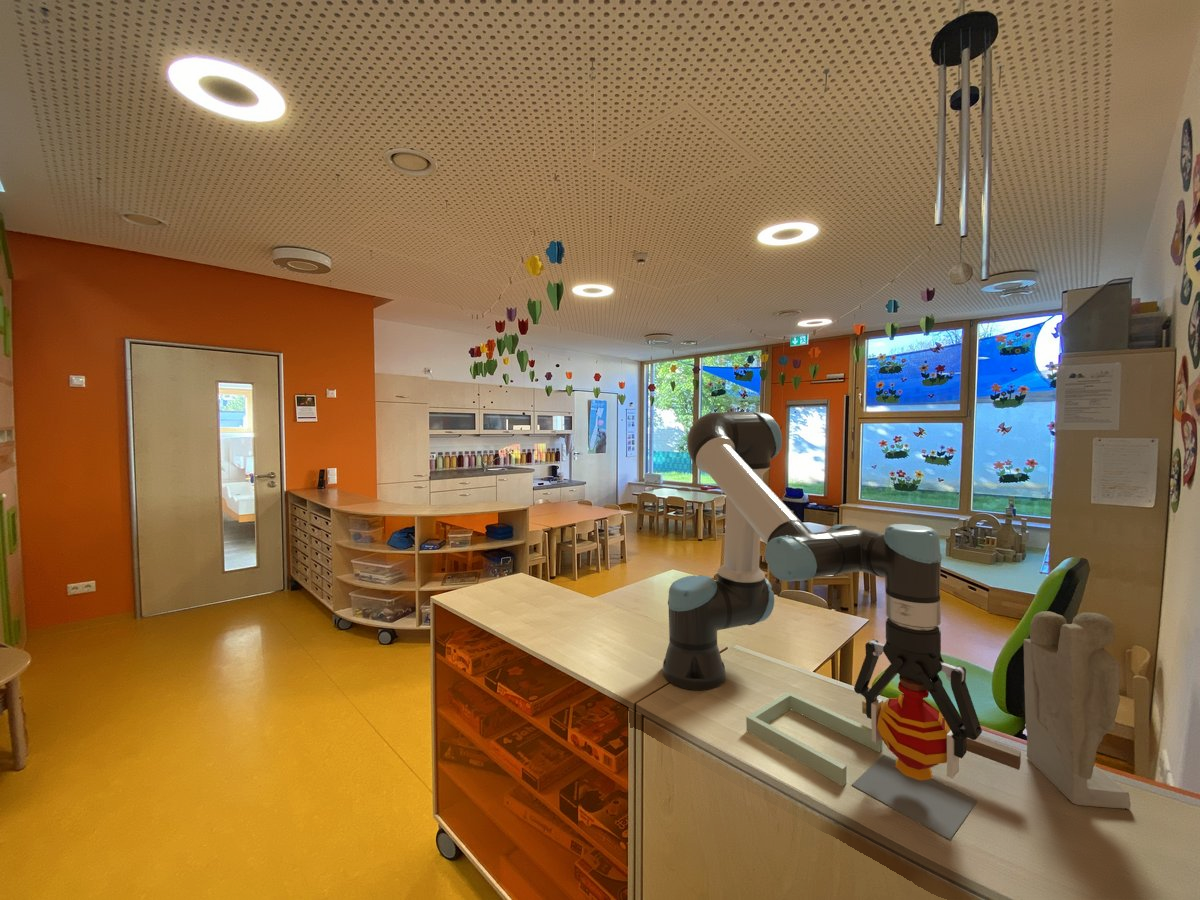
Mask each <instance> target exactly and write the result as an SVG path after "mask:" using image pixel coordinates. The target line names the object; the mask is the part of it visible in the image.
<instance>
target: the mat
mask: <svg viewBox="0 0 1200 900" xmlns="http://www.w3.org/2000/svg"><path fill="white" fill-rule="evenodd" d="M896 760H897V759H894V758H892V757H890V756H888V755H886V754H882V755H881V756H880V757H879V758H878V759H877V760H876V761H875V762H874V763H873V764H872V765H870V767H869V768H867V769H866V771H864V772H863V773H862V775H860V776H859V777H858V778H857V779H855V781H854V782H853V783H852V784H851V786H852V787H854V788H855V789H857V790H860V791H861V792H863V793H865V794H866V795H868V796H869V797H870V796H871V797H872V798H873V799H875V800H878V801H879V802H881V803H883V804H884V805H886V806H888V807H890V808H891V809H893V810H895V811H897V812H898V813H901V814H903V815H904V816H906V817H908V818H909V819H911V820H913V821H915V822H916V823H918V824H920V825H922V826H923V827H925V828H927V829H929V830H931V831H933V832H934V833H936V834H938V835H940V836H942V837H944V838H945V839H947V840H949V841H951V840H952V838H953V837H954V836H955V834H956V833H957V831H958V830H959V828H960V827H961V826H962V824H963V822H964V821H965V819H966V818H967V817H968V815H969V814H970V813H971V810H972V809H973V808H974V806H976V804H977V802H978V799H976V798H974V797H972V796H970V795H968V794H966V793H964V792H962V791H960V790H958V789H956V788H954V787H952V786H950V785H948V784H946V783H944V782H942V781H939V780H937V779H935V778H933V777H932V779H926V780H918V779H915V778H912V777H909V776H906V775H904V774H903V773H902V772H901V771H900V770H899V769H897V768H896V767H895V766H896Z"/></svg>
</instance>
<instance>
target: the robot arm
mask: <svg viewBox="0 0 1200 900" xmlns="http://www.w3.org/2000/svg"><path fill="white" fill-rule="evenodd" d="M686 441H687V442H686V447H687V451H688V454H689V456H690V459H691V460H692V463H694V465H695V466H696V467H697V469H698V470H699V471H700V472H701V473H703V474H704V473H705V474H708V475H709V476H710V477H711V479H712V480H713V481H714V482H715V484H716V485H717V486H718V487H719V488H720V490H721V491H722V492H723V493H724V495H725V523H724V524H725V525H724V526H725V528H724V546H723V547H724V549H723V550H724V552H723V564H721V566H719V567H718V568H717V573H716V576H717V579H716V580H715V579H714V578H713V577H710V576H708V575H702V574H701V575H697V576H696V575H688V576H684V577H681V578H679V579H676V580H675V581H673V582H672V583H671V585H670V586H669V588H668V599H667V605H668V631H669V633H668V635H669V640H668V641H669V642H668V646H667V648H666V653H665V658H664V659H663V663H662V675H663V677H664V679H665V680H666V681H668V683H670V684H671V685H674V686H676V687H678V688H680V689H681V688H682V689H686V690H693V691H705V690H711V689H714V688H717V687H718V686H720V685H722V684H723V683H724V682H725V679H726V666H725V663H724V661H722V660H723V659H722V656H721V651H720V649H719V645H718V631H720V630H726V629H732V628H737V627H742V626H753V625H756V624H758V623H761V622H764V621H765V620H767V619H768V618H770V617H771V615H772V612H773V609H774V607H775V593H774V591H773V590H772V588H773V586H772V584H771V582H770V581H769V580H768V578H767V577H766V574H765V573H764V571H763V570H762V569H761V568H760V553H761V540H762V541H763V542H764V543H765V545H766V546H765V549H764V559H765V562H766V563H767V565H768V567H767V568H768V570H769V572H770V574H772V576H773V577H774V578H776V579H777V580H780V581H782V582H796V581H798V582H800V581H801V582H803V581H804V582H805V581H808V580H810V579H817V578H822V577H823V578H824V577H828V576H838V575H843V574H851V573H856V572H862V573H866V574H869V575H873V576H876V577H880V578H884V588H885V592H884V593H885V616H886V617H887V618H886V619H885V643H881V642H879V641H878V639H875V638H873V639H871V640H870V641H868V642H866V643H865V646H864V647H865V656H864V657H865V658H864V659H863V663H862V665H861V668H860V670H859V674H858V675H857V679H856V681H855V685H854V687H853V689H854V692H855V693H856V694H860V695H861V696H863V697H864V699H866V714H865V715H866V718H868V719H870V720H871V721H870V722H871V723H870V724H871V729H872V741H873V742H875V743H877V742H878V741H879V740H880V739H881V738H882V737H881V734H880V732H879V730H878V728H877V724H878V719H879V714H880V711H881V707H882V704H883V703H884V699H882V698H879V696H880V694H882V692H883V691H884V690H885V689H886V688H887V686H888V685H889V684H890V683H891V682H892V681H893V679H894V678H895V677H896V676H897V675H900V676H901V677H904V678H910V679H912V680H914V681H915V682H918V683H923V685H924V687H925V689H926V690H927V691H929V695H930V696H931V697H932V700H933V701H934V703H935V704H936V706H937V708H938V711H940V712H941V714H942V715H943V718H944V719H945V721H946V723H947V724H948V726H949V728H950V730H951V731H950V732H949V733H948V734H947V762H946V776H947V777H948V778H950V779H954V778H955V777H956V775H957V774H958V773H959V771H960V759H963V758H964V756H965V755H966V754H967V752H968V751H967V749H966V748H967V742H966V738H970V739H972V740H976V739H977V738H978V736H980V735H981V734H982V732H983V730H982V727H981V723H980V720H979V718H978V715H977V711H976V709H975V706H974V703H973V700H972V697H971V695H970V694H971V693H970V691H969V689H968V685H967V683H966V679H967V678H966V675H967V670H966V667H964V666H963V665H957V666H955V665H951V664H948V663H946V662H944V660H943V658H942V655H941V653H942V644H941V643H942V638H941V637H942V634H941V632H942V630H941V627H940V625H941V623H942V621H941V620H942V618H941V617H942V614H941V613H942V609H941V608H942V607H941V605H942V604H941V603H942V602H941V569H942V567H941V565H942V559H943V555H942V553H941V545H940V544H941V542H940V541H941V540H940V535H939V532H938V531H937V530H936V529H934V528H933V527H930V526H926V525H920V524H910V523H893V524H888V526H886V528H885V530H884V532H883V531H881V532H880V531H877V530H873V529H867V528H862V527H861V526H857V525H853V524H849V525H847V524H835V525H832V526H831V527H830V528H829V529H828V530H826V531H819V532H818V531H817V532H812V531H811V530H810V529H809V528H808V527H807V526H806V525H805V524H804V523H803V522H802V521H801V520H800V519H799V518H798V516H797V515H796V514H795V513H794V512H793V511H792V510H791V509H790V507H788V506H787V505H786V504H785V503H784V502H783V500H782V499H781V498H779V496H778V495H777V494H776V493H775V492H774V491H773V490H772V489H771V488H770V487H769V486H768V485H767V484H766V483H765V481H764V474H765V473H766V472H767V471H768V470H770V469H771V459H774V458H775V457H777V456H778V455H779V453H780V451H781V450H782V447H783V437H782V431H781V428H780V426H779V423H778V422H776V420H775V418H774V417H772V416H771V415H770V414H769V413H766V412H759V411H758V412H757V411H751V410H750V411H733V412H732V411H731V412H727V411H726V412H719V411H716V412H710V413H706V414H704V415H703V416H701V417H698V419H697V420H695V422H694V423H693V424H692V426H691V427H690V429H689V431H688V435H687V439H686ZM882 654H884V655H885V657H886V659H887V660H888V662H889V663H890V664H889V665H888V667H887V668H886V669H885V671H884V672H883V674H882V675H881V676H880V677H879V678H878V679H877V681H876V682H875V683H874V684H873V685H872V686H871V687H869V684H870V682H871V679H872V676H873V673H874V670H875V668H876V666H877V662H878V660H879V657H880V656H881V655H882ZM940 672H943V673H945V676H946V679H947V680H948V681H950V688H951V691H952V694H953V697H954V701H955V702H956V706H957V708H956V706H955V704H954V703H953V701H952V699H951V698H950V695H949V693H948V692H947V691H946V689H945V687H944V686H943V685H944V684H943V680H942V679H941V677H940V676H939V673H940ZM957 709H958V710H957Z"/></svg>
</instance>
